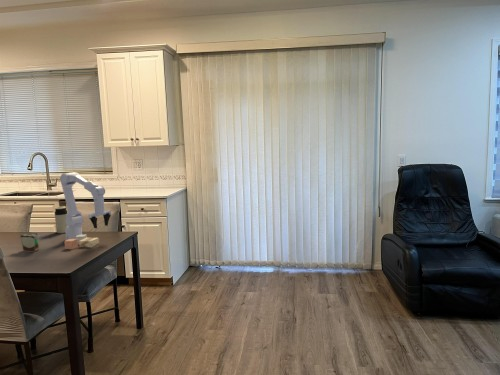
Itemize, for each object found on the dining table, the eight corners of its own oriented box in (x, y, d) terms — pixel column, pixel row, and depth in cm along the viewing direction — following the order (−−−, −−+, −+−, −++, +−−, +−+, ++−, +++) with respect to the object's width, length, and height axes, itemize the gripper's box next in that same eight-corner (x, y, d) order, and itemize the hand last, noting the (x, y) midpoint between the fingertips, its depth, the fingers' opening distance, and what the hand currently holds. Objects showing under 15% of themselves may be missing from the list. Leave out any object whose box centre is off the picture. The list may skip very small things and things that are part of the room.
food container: (45, 249, 221) (44, 233, 219) (37, 252, 215) (35, 235, 213) (30, 247, 225) (28, 231, 223) (21, 250, 219) (19, 234, 217)
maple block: (79, 247, 223) (79, 241, 223) (87, 243, 231) (86, 237, 230) (91, 247, 222) (91, 241, 221) (99, 243, 230) (98, 237, 229)
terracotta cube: (65, 249, 220) (64, 241, 219) (70, 246, 225) (69, 238, 224) (72, 249, 219) (71, 241, 218) (77, 246, 224) (77, 238, 223)
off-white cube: (76, 244, 229) (75, 236, 228) (79, 242, 234) (78, 234, 233) (84, 244, 229) (83, 236, 229) (87, 241, 234) (86, 234, 234)
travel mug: (56, 234, 256) (54, 208, 254) (56, 231, 263) (54, 207, 261) (69, 232, 260) (66, 207, 257) (68, 230, 267) (66, 205, 264)
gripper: (92, 208, 221) (94, 230, 223) (113, 204, 233) (114, 225, 235) (85, 207, 225) (87, 228, 227) (106, 203, 237) (108, 223, 239)
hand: (101, 226), depth 231 cm, fingers open, 7 cm apart
